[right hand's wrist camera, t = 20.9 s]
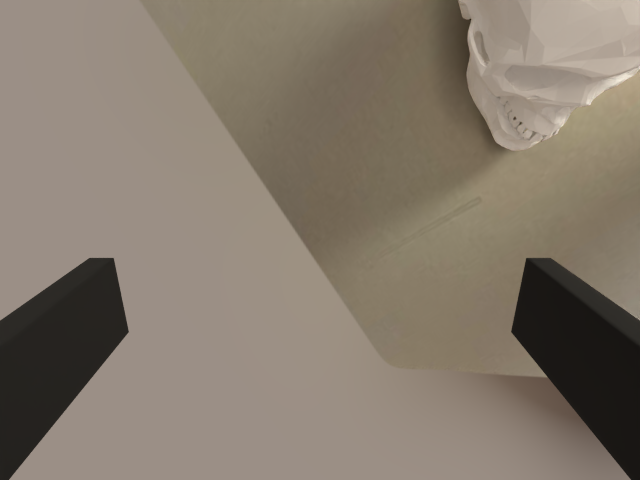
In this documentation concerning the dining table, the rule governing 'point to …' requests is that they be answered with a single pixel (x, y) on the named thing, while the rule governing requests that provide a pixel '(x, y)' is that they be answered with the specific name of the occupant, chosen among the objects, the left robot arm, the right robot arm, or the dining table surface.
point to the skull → (546, 60)
